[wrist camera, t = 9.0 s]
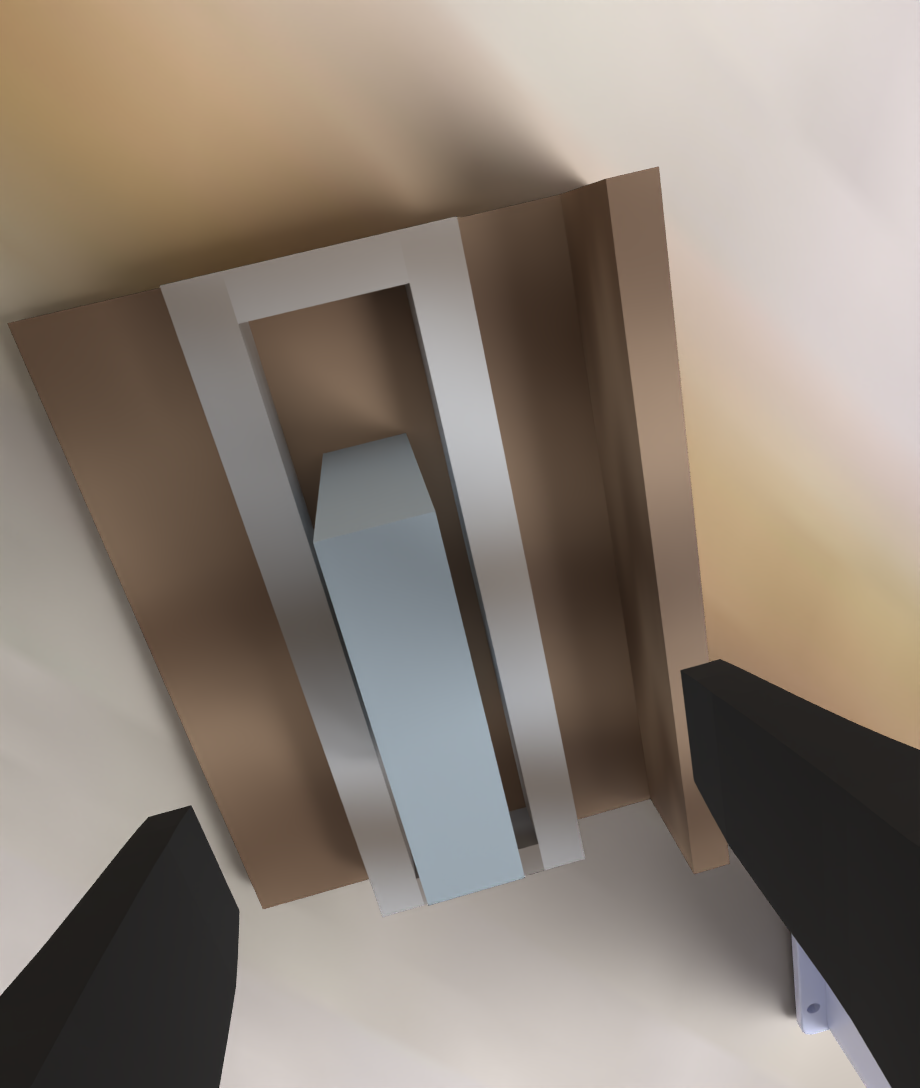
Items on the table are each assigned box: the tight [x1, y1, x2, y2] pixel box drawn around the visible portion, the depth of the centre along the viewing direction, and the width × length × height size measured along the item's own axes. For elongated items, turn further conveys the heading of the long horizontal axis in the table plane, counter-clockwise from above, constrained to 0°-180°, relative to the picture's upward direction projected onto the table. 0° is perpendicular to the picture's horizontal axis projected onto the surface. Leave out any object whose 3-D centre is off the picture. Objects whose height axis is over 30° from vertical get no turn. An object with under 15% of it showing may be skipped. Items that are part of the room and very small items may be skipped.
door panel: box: [313, 433, 525, 906], centre depth 16 cm, size 8×2×6 cm, turn 12°
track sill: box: [7, 167, 730, 917], centre depth 18 cm, size 17×13×4 cm
